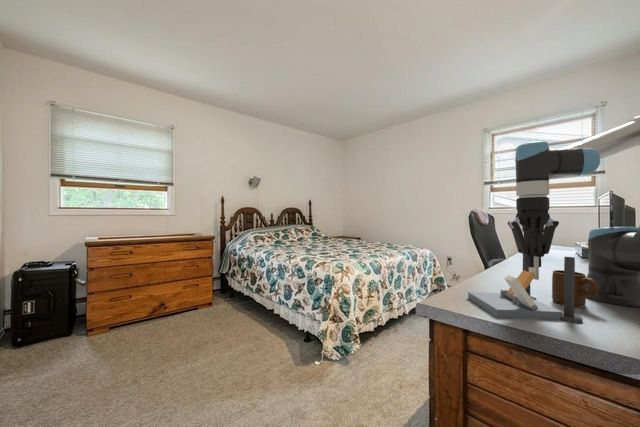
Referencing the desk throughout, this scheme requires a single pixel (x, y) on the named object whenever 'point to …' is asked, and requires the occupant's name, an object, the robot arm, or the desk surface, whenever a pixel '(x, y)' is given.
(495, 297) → the panel
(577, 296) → the mug
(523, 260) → the post
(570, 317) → the post
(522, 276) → the paddle
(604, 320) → the desk surface
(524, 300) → the paddle
